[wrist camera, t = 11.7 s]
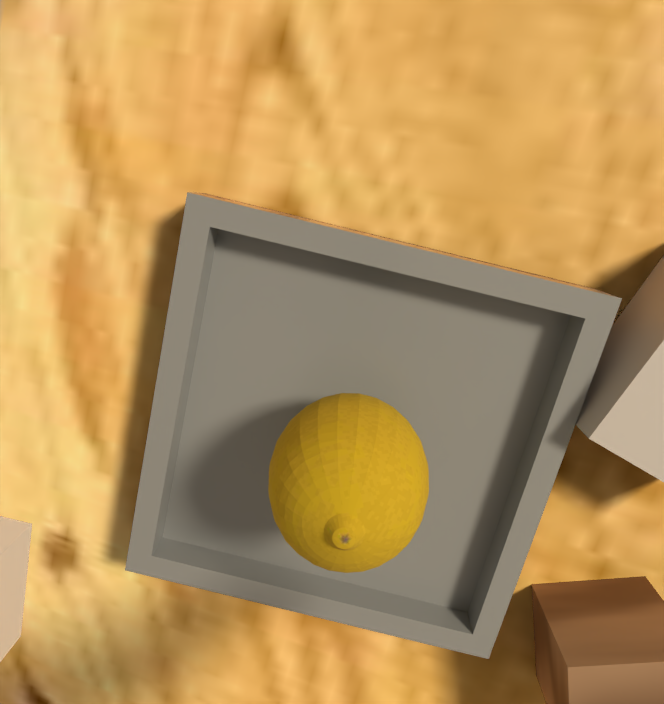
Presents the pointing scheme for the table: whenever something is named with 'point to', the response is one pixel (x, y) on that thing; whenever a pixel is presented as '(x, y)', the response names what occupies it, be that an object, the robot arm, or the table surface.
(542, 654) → the walnut block
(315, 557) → the lemon
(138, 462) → the table surface
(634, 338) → the grey box
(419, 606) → the dish
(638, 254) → the table surface
